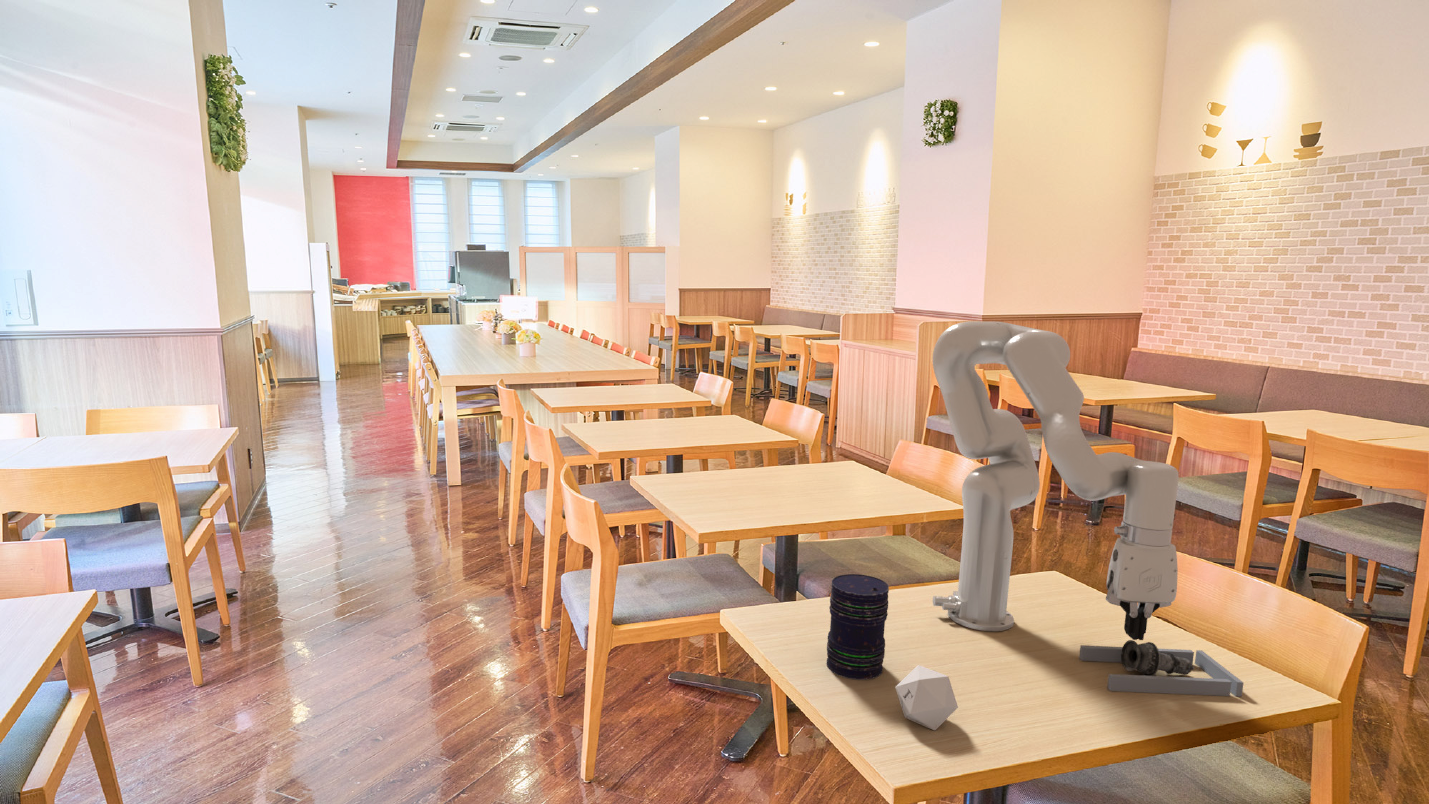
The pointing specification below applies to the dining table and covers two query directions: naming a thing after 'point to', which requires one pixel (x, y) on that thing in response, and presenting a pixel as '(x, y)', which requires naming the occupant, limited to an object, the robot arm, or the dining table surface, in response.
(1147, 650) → the dark ringed finial
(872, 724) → the dining table surface
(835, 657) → the dark blue cylinder
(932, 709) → the die
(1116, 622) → the dining table surface
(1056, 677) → the dining table surface
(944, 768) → the dining table surface
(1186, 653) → the frame
